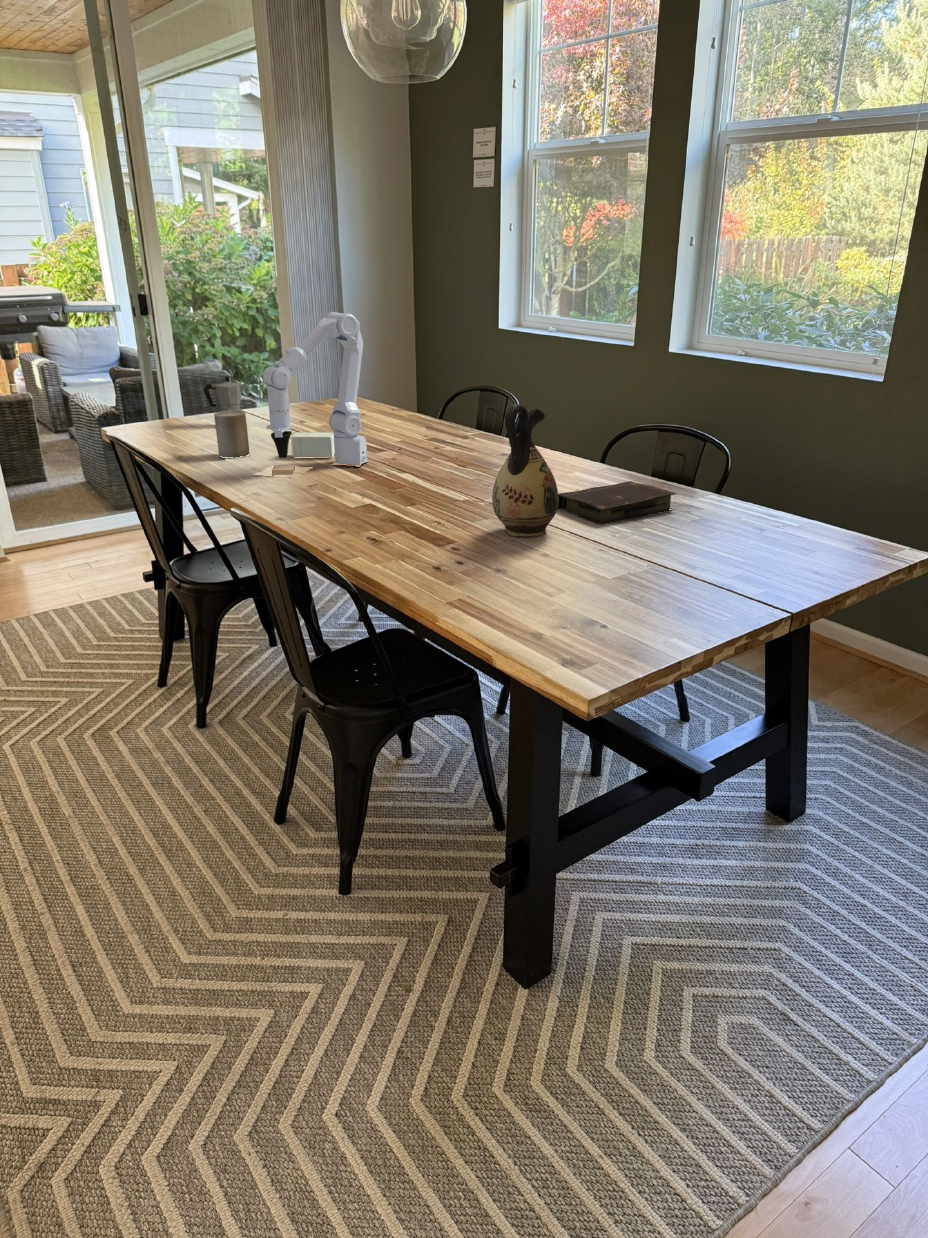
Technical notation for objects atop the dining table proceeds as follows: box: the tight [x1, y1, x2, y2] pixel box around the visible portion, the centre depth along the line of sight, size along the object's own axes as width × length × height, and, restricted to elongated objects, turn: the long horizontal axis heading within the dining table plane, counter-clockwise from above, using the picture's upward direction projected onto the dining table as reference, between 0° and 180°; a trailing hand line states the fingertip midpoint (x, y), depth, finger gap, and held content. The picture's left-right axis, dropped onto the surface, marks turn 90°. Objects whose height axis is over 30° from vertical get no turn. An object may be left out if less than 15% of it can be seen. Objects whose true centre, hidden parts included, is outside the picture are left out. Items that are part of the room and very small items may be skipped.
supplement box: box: [290, 432, 335, 458], centre depth 279 cm, size 7×7×13 cm
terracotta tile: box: [272, 464, 296, 476], centre depth 259 cm, size 2×6×6 cm
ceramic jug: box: [491, 403, 559, 537], centre depth 202 cm, size 17×15×30 cm
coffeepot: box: [203, 376, 248, 412], centre depth 324 cm, size 15×9×18 cm, turn 103°
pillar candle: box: [213, 410, 251, 457], centre depth 279 cm, size 10×10×15 cm
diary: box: [557, 480, 677, 525], centre depth 226 cm, size 19×25×5 cm
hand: (283, 457), depth 258 cm, fingers closed
